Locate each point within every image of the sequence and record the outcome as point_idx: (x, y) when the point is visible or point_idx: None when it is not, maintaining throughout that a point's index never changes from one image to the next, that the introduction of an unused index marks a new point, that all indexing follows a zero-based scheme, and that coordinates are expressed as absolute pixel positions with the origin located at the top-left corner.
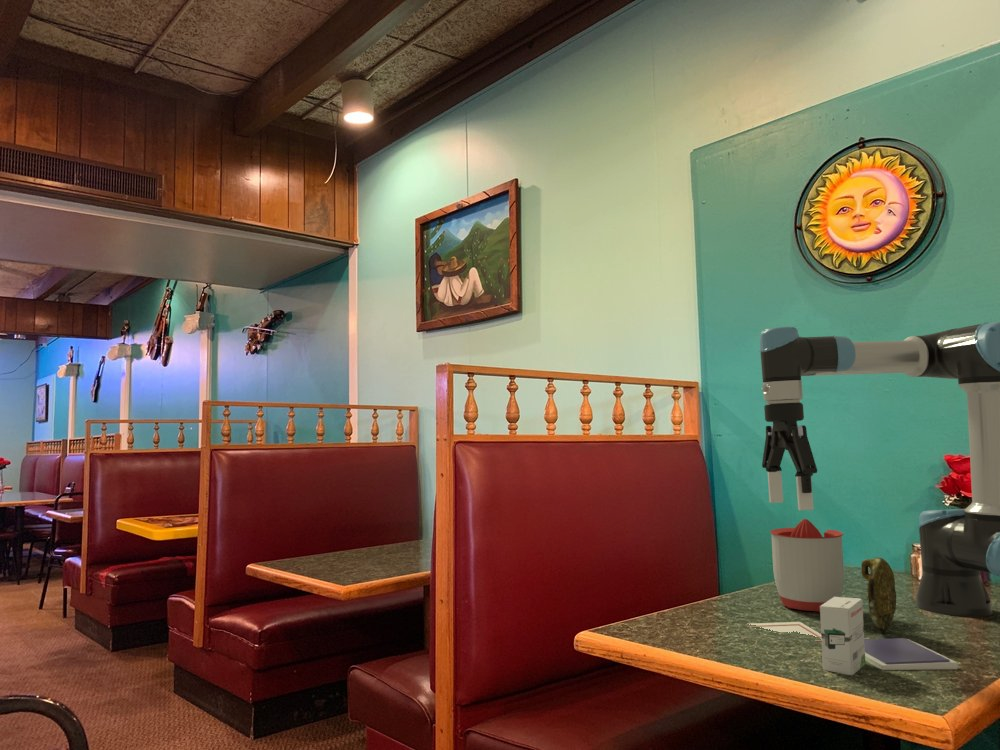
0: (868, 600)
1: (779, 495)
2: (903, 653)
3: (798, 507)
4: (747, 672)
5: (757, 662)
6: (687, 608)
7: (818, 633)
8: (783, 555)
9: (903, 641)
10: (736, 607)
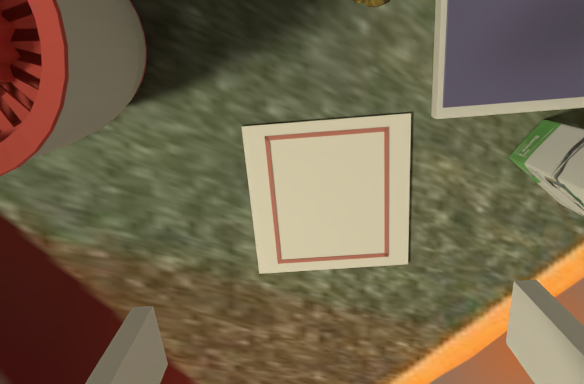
0: (377, 5)
1: (143, 352)
2: (552, 32)
3: (517, 352)
4: None
5: (477, 278)
6: (126, 306)
7: (334, 122)
8: (58, 146)
9: None
10: (109, 214)
